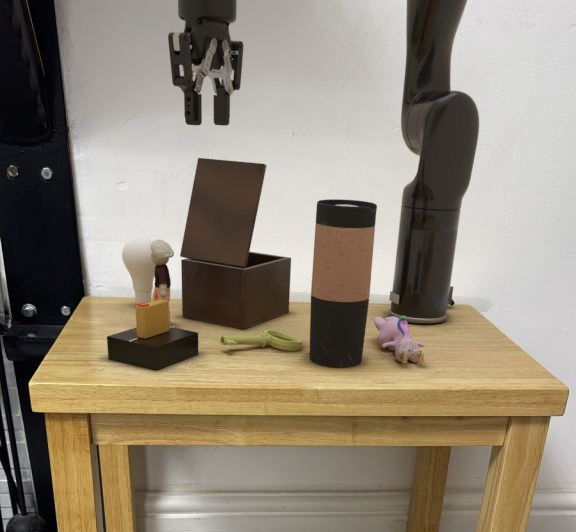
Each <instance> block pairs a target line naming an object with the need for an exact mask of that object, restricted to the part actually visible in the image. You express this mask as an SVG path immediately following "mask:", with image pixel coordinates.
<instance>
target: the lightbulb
mask: <svg viewBox="0 0 576 532" xmlns="http://www.w3.org/2000/svg"><path fill="white" fill-rule="evenodd" d="M153 241H154V240H153V239H151V238H150V237H148V236H144V235H137V236H133V237H132V238H130V239H128V240H127V242H126V243H125V244H124V246H123V248H122V252H121V257H122V262H123V264H124V266H125V269H126V271H127V272H128V273H129V276H130V277H131V282H132V288H133V291H134V298H135V303H137V304H139V303H149V302H152V296H153V290H154V281H155V275H154V272H155V266H156V264H155V263H154V262H153V261H152V259H151V253H152V251H151V244H152V242H153Z"/></svg>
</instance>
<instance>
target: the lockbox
mask: <svg viewBox="0 0 576 532" xmlns="http://www.w3.org/2000/svg"><path fill="white" fill-rule="evenodd" d="M180 261H181V263H180V265H181V266H180V267H181V269H180V270H181V312H182V313H181V314H182V315H181V317H182V318H185V319H190V320H195V321H199V322H205V323H209V324H215V325H220V326H224V327H230V328H235V329H240V330H246V329H249V328H252V327H254V326H257V325H260V324H263V323H265V322H268V321H272V320H273V319H277V318H279V317H282V316H284V315H287V314H289V313H290V297H291V296H290V293H291V274H292V273H291V271H292V258H291V257H290V256H289V257H288V256H281V255H276V254H268V253H262V252H257V251H256V252H255V251H249V256H248V261H247V266H246V267H240V266H233V265H227V264H221V263H215V262H208V261H202V260H196V259H189V258H183V259H181V260H180Z"/></svg>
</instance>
